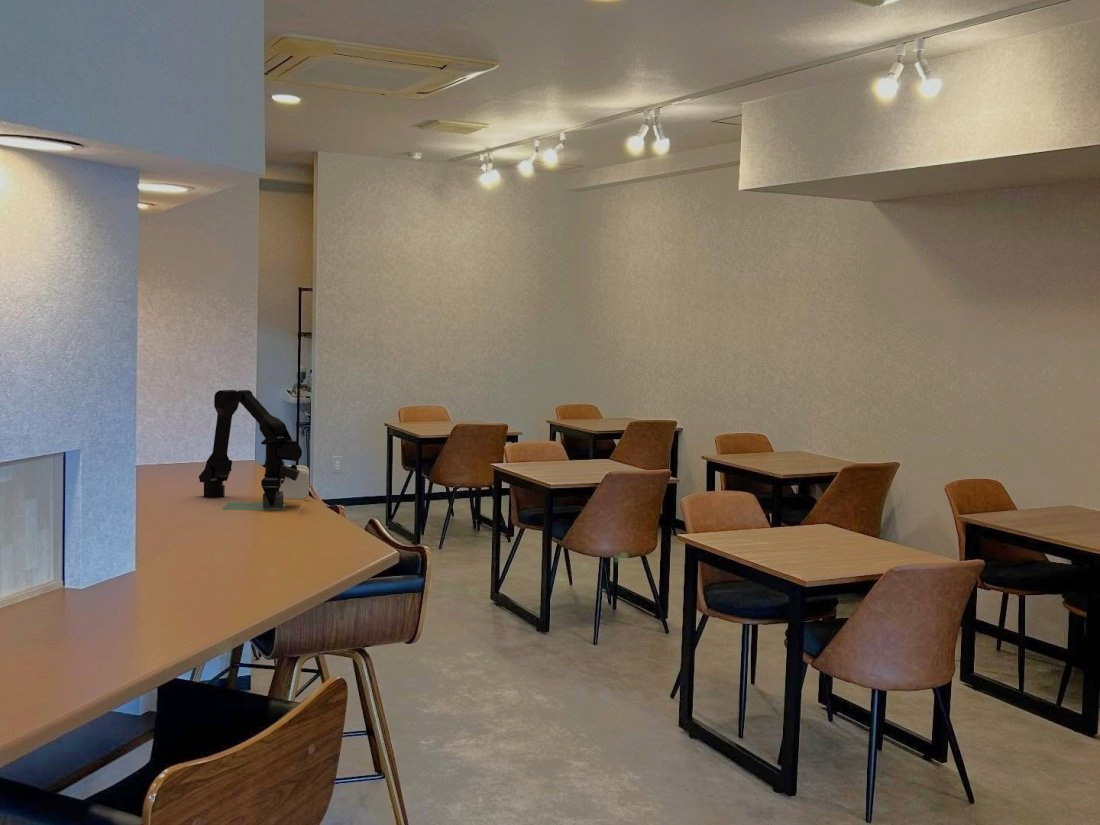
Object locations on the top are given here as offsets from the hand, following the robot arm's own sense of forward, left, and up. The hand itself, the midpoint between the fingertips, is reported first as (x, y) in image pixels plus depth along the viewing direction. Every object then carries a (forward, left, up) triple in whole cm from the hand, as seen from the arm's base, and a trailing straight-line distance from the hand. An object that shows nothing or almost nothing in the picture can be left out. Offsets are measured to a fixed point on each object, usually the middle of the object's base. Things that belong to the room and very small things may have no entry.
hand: (273, 503), depth 351 cm
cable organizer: (+3, +21, -2) cm, 21 cm away
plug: (0, 0, -1) cm, 1 cm away
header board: (-6, 0, -2) cm, 6 cm away
